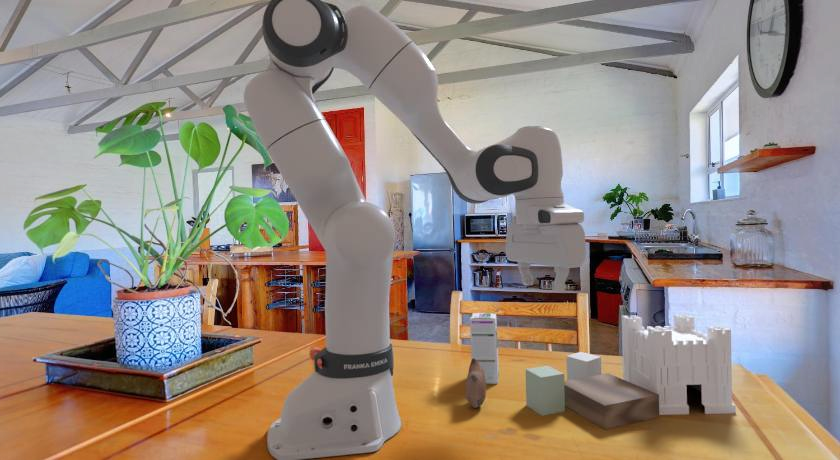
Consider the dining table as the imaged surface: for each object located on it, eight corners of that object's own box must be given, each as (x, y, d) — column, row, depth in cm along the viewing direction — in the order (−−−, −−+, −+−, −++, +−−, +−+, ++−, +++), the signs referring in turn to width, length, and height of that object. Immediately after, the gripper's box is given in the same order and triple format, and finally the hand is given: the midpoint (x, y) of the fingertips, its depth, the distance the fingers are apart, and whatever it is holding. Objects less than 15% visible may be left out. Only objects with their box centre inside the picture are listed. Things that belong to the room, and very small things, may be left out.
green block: (542, 416, 79) (541, 377, 79) (526, 405, 84) (525, 369, 83) (564, 411, 81) (564, 373, 80) (548, 401, 85) (547, 365, 85)
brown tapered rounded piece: (465, 394, 90) (464, 355, 89) (484, 394, 89) (484, 355, 89) (465, 413, 81) (464, 370, 81) (487, 413, 80) (486, 370, 80)
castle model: (687, 384, 92) (686, 313, 92) (735, 413, 78) (734, 330, 78) (620, 386, 92) (619, 315, 92) (656, 415, 78) (654, 331, 78)
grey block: (587, 390, 90) (586, 361, 90) (567, 383, 94) (566, 356, 94) (601, 384, 93) (601, 356, 93) (581, 378, 97) (580, 351, 97)
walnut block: (605, 429, 73) (604, 405, 73) (559, 402, 84) (559, 381, 84) (659, 417, 77) (658, 394, 77) (608, 393, 88) (608, 373, 88)
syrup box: (498, 384, 95) (496, 317, 94) (471, 383, 96) (469, 317, 96) (498, 375, 100) (497, 312, 100) (473, 374, 101) (471, 312, 101)
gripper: (496, 216, 91) (499, 283, 91) (560, 213, 71) (563, 297, 72) (522, 215, 93) (525, 280, 93) (591, 212, 73) (594, 293, 74)
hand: (542, 288), depth 82 cm, fingers open, 8 cm apart
